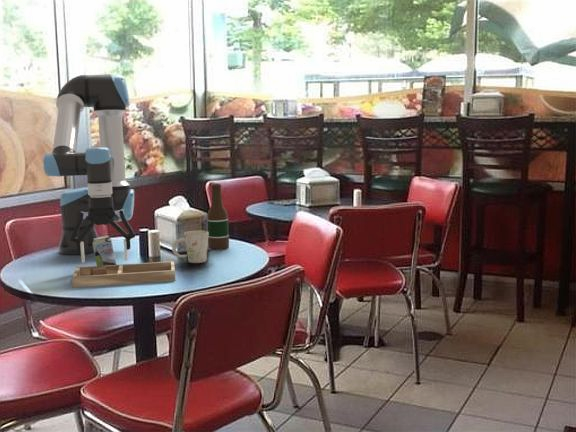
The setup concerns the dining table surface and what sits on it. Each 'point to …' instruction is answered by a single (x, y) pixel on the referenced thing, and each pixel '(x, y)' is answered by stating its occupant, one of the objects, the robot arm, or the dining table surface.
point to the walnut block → (98, 270)
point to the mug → (194, 246)
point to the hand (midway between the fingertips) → (104, 260)
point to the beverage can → (103, 251)
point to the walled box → (125, 274)
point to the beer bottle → (217, 221)
